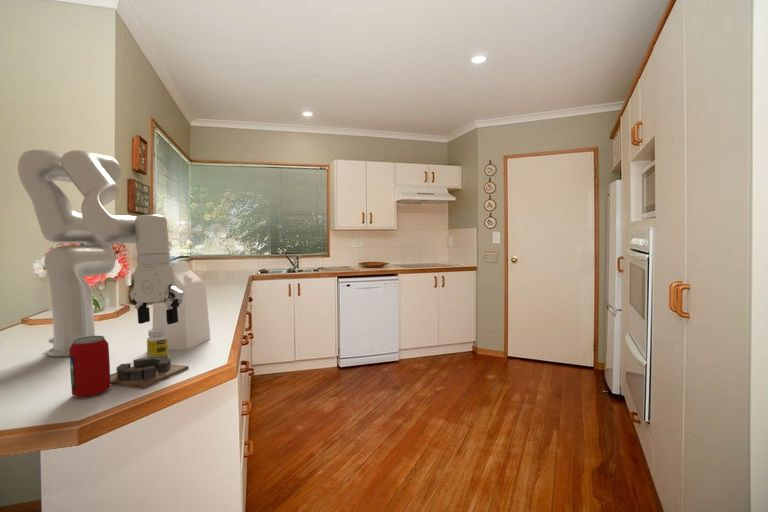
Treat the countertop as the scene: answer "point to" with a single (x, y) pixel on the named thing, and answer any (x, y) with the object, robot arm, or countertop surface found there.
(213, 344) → the countertop surface
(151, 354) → the supplement bottle
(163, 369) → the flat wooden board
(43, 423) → the countertop surface
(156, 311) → the milk
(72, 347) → the beverage can
